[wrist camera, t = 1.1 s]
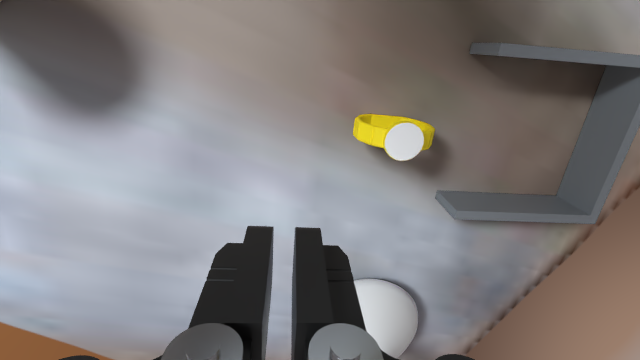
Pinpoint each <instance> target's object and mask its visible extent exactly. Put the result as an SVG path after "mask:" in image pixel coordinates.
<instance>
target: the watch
mask: <svg viewBox="0 0 640 360" xmlns="http://www.w3.org/2000/svg"><path fill="white" fill-rule="evenodd" d="M434 132H435V128H434V127H432V126H431V125H430V124H428V123H425V122H422V121H419V120H415V119H411V118H406V117H399V116H387V115H375V114H364V115H359V116H358V117H356V118H355V123H354V130H353V135H354V136H355V137H356V138H357V139H358V140H359V141H361V142H364V143H366V144H369V145H372V146H375V147H380V148H384V150H385V151H386V153H387V154H388V155H389V156H390V157H391V158H393V159H394V160H398V161H407V160H410V159H412V158H414V157H415V156H416V155H418V154H419V152H420V151H422V150H427V149H429V147H430V146H431V145H432V141H433V136H434Z"/></svg>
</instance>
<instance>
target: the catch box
mask: <svg viewBox="0 0 640 360" xmlns="http://www.w3.org/2000/svg"><path fill="white" fill-rule="evenodd" d="M469 54H480V55H492V56H503V57H515V58H527V59H539V60H550V61H562V62H574V63H585V64H597V65H606V68H605V70H604V73H603V76H602V78H601V81H600V83H599V86H598V89H597V91H596V94H595V96H594V99H593V101H592V104H591V107H590V109H589V112H588V114H587V117H586V120H585V122H584V125H583V127H582V130H581V132H580V135H579V138H578V140H577V143H576V145H575V148H574V151H573V153H572V156H571V158H570V161H569V163H568V166H567V169H566V171H565V174H564V176H563V179H562V181H561V184H560V187H559V189H558V192H557V194H556V196H553V195H529V194H506V193H482V192H459V191H437V194H436V199H437V201H438V202H439V203H440V204H441V205H442V206H443V207H444V208H445V209H446V210H447V212H448V213H449V214H450V215H451V216H452V217H453V218H454V219H461V220H491V221H520V222H549V223H579V224H595V223H596V221H597V218H598V216H599V214H600V212H601V210H602V207H603V205H604V203H605V201H606V198H607V196H608V194H609V192H610V190H611V187H612V185H613V183H614V181H615V179H616V176H617V174H618V172H619V170H620V168H621V165H622V163H623V161H624V159H625V157H626V154H627V152H628V150H629V148H630V146H631V143H632V141H633V139H634V137H635V135H636V132H637V130H638V128H639V126H640V55H631V54H620V53H608V52H597V51H586V50H575V49H564V48H553V47H541V46H530V45H519V44H508V43H472V45H471V49H470V53H469Z"/></svg>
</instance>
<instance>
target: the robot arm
mask: <svg viewBox="0 0 640 360" xmlns="http://www.w3.org/2000/svg"><path fill="white" fill-rule="evenodd" d="M272 267H273V227H266V226H248V227H247V231H246V235H245V239H244V242H243V243H227V244H226V245H225V246H224V247H223V248H222V249H221V250H219V251H218V252H217V253H216V255H215V257H214V260H213V263H212V265H211V270H210V271H209V274H208V276H207V281H206V282H205V284H204V287H203V290H202V293H201V295H200V298H199V301H198V303H197V306H196V309H195V312H194V314H193V317H192V320H191V322H190V325H189V328H188V329H187V330H185V331H184V332H182V333H180V334H179V335H178V336H176V337H175V338H174V339H173V340H172V341H171V343H170V344H169V345H168V346H167V348H166V350H165V352H164V354H163V355H161V356H160V357H158V358H156V359H153V360H265V354H266V344H267V333H268V322H269V311H270V300H271V288H272ZM59 360H99V359H97V358H95V357H91V356H71V357H67V358H63V359H59ZM291 360H399V359H396V358H394V357H392V356H390V355H388V354H387V353H385V352H383V351H382V350H381V349H380V347H379V345H378V344H377V342H376V341H375V339H374V338H373V337H372V336H371V335H370V334H369V333H367V330H366V328H365V324H364V320H363V316H362V312H361V308H360V304H359V300H358V296H357V292H356V288H355V284H354V280H353V276H352V272H351V268H350V264H349V260H348V256H347V255H346V254H345V253H344V252H343V251H342V250H341V249H340V248H339V246H330V245H323V243H322V236H321V230H320V228H301V227H295V240H294V258H293V276H292V353H291ZM436 360H474V359H472V358H469V357H466V356H462V355H456V354H448V355H443V356H441V357H438V358H437V359H436Z"/></svg>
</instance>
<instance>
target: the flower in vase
mask: <svg viewBox="0 0 640 360" xmlns="http://www.w3.org/2000/svg"><path fill="white" fill-rule="evenodd" d="M354 284H355V288H356V292H357V296H358V300H359V304H360V308H361V312H362V316H363V320H364V324H365V328H366V330H367V333H369V334H370V335H371V336H372V337H373V338H374V339H375V341H376V342H377V344H378V345H379V347H380V349H381V350H382V351H383V352H385V353H387V354H388V355H390V356H392V357H394V358H397V357H399V356H400V355H401V354H402V353H403V352H404V351H405V350H406V349H407V347H408V346H409V344H410V343H411V341H412V340H413V338H414V336H415V334H416V331H417V327H418V310H417V306H416V304H415V302H414V300H413V298H412V297H411V296H410V294H409V293H407V292H406V291H405V290H404V289H402V288H401V287H399V286H397V285H395V284H393V283H390V282H387V281H384V280H379V279H358V280H354Z"/></svg>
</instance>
